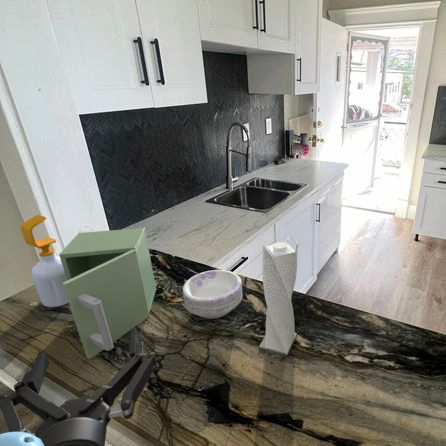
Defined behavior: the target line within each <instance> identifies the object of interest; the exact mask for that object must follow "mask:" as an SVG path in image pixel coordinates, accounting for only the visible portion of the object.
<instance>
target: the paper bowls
mask: <svg viewBox="0 0 446 446" xmlns="http://www.w3.org/2000/svg"><path fill="white" fill-rule="evenodd" d="M182 295H183V296H182V297H183V303H184V307H185V309H186V311H188V312H189V313H191V314H192V315H196V316H199V317H201V318H204V319H210V320H211V319H212V320H213V319H219V318H222V317H224V316H226V315H228V314H230V313H231V311H232V310H234V309H235V308H237V307H238V306H239V305H240V303H241V302H242V301H243V283H242V279H241V277H240V276H239V274H237V273H235V272H233V271H230V270H226V269H212V270H207V271H206V270H205V271H203V272H200V273H197V274H194V275H193V276H191V277H190V278H189V279H188V280H186V282H185V283H184V284H183V286H182Z"/></svg>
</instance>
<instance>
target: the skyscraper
mask: <svg viewBox="0 0 446 446" xmlns="http://www.w3.org/2000/svg"><path fill="white" fill-rule="evenodd" d="M289 240H292V241H293V242H294V243H295V244H296V246H295V249H294V248H293V247H292V246H291V245H290V244H289V243H288V241H289ZM299 245H300V243H299V242H298V241H297V240H296V239H295V238H293V236H287V237H286V239H285V241H284V242H283V241H277V242H274V243H273V244H270V245H265V244H263V245H262V259H261V260H262V265H261V267H262V268H261V269H262V272H261V273H262V284H263V285H262V286H263V293H264V299H265V304H266V314H265V316H266V317H265V319H266V320H265V335H264V337H263V339H262V341H261V343H260V344H259V346H258V348H259V349H262V350H265V351H269V352H273V353H277V354H279V355H284V356H289V352H290V351H291V348H292V346H293V345H294V342H295V340H296V337H297V334H298V333H297V332H296V331H295V330H296V329H295V326H296V325H295V315H294V308H293V302H292V295H293V292H294V288H295V285H296V278H297V272H298V251H299V250H298V249H299Z"/></svg>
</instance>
